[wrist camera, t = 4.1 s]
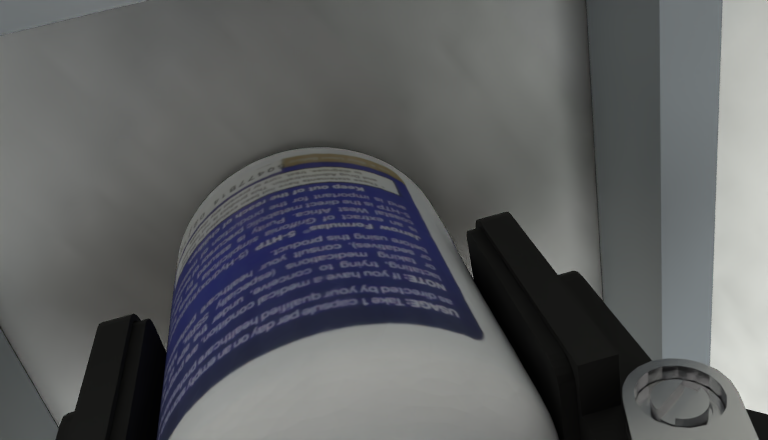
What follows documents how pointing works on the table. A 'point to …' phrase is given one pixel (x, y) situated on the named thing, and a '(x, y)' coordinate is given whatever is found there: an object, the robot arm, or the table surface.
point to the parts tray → (613, 173)
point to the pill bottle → (334, 315)
